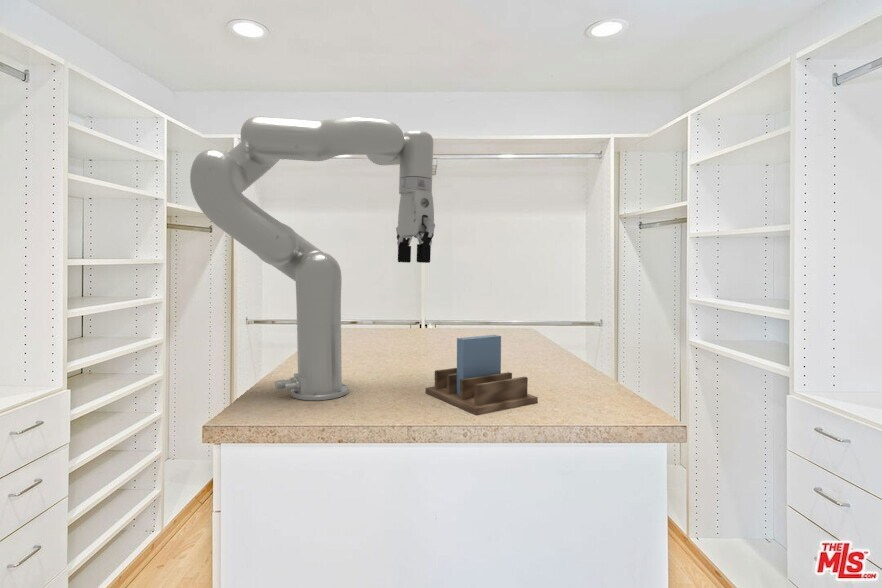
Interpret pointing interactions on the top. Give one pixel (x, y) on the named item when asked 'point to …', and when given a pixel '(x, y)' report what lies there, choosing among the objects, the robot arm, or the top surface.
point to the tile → (478, 357)
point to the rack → (481, 391)
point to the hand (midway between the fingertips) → (413, 262)
